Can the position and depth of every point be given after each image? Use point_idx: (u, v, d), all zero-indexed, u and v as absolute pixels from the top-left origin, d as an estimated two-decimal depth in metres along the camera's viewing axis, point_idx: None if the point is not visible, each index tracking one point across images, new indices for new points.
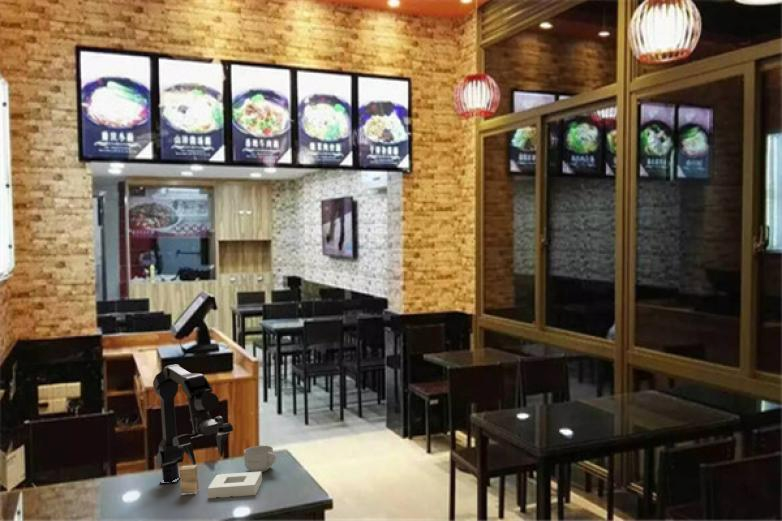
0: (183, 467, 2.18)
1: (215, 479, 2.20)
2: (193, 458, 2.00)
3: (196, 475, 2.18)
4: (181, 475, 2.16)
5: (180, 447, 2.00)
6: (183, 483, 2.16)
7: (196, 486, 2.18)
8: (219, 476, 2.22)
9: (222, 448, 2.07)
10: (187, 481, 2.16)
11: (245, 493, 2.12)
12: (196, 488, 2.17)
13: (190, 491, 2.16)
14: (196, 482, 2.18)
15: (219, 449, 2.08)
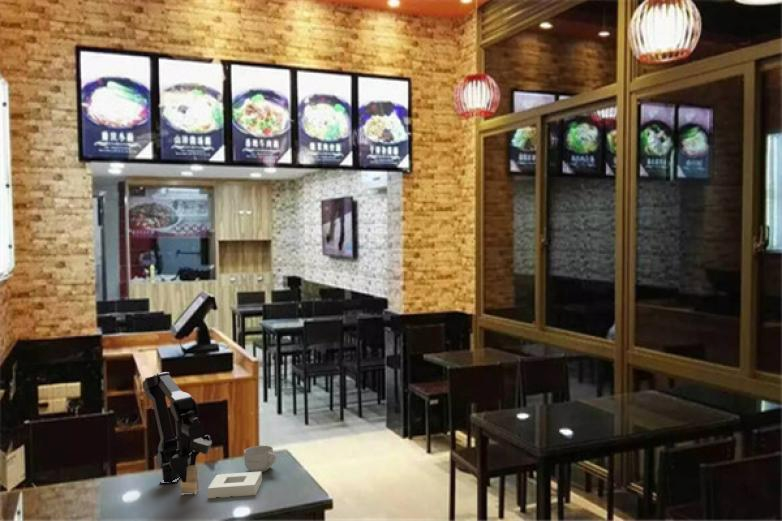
0: None
1: (215, 479, 2.20)
2: (186, 476, 2.13)
3: (196, 475, 2.18)
4: None
5: (179, 467, 2.10)
6: (183, 483, 2.16)
7: (196, 486, 2.18)
8: (219, 476, 2.22)
9: (195, 464, 2.23)
10: (187, 481, 2.16)
11: (245, 493, 2.12)
12: (196, 488, 2.17)
13: (190, 491, 2.16)
14: (196, 482, 2.18)
15: None
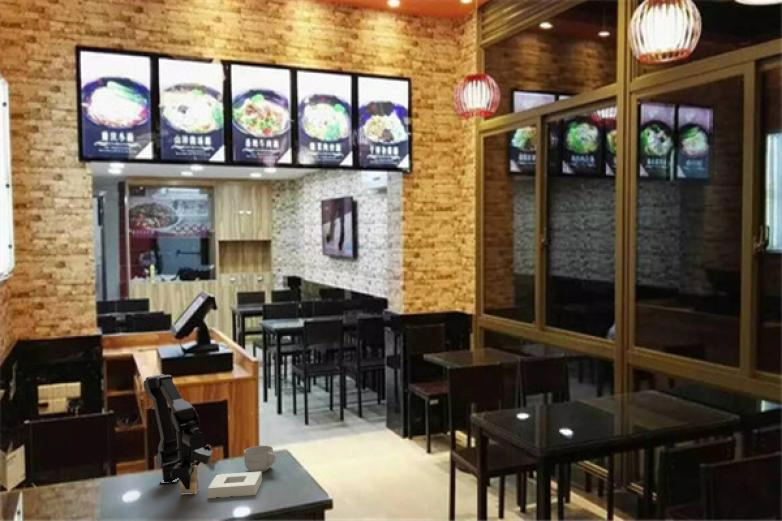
0: None
1: (215, 479, 2.20)
2: (189, 483, 2.16)
3: (196, 475, 2.18)
4: None
5: None
6: None
7: (196, 486, 2.18)
8: (219, 476, 2.22)
9: None
10: None
11: (245, 493, 2.12)
12: (196, 488, 2.17)
13: (190, 491, 2.16)
14: (196, 482, 2.18)
15: None
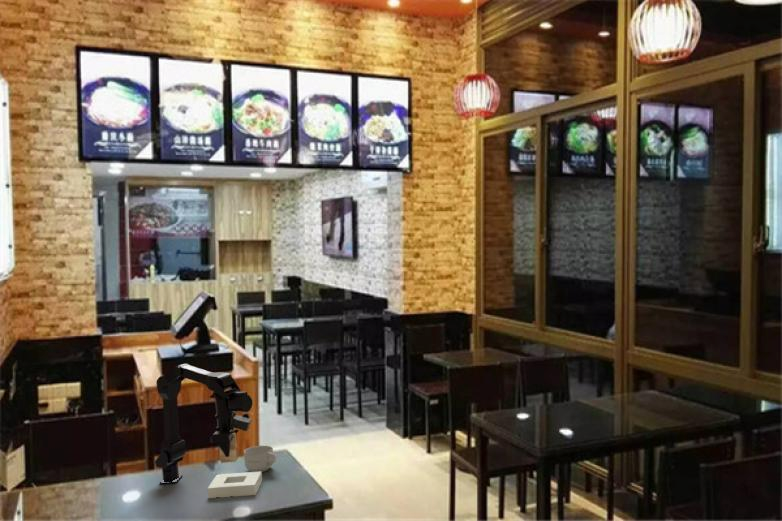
0: None
1: (215, 479, 2.20)
2: (229, 450, 2.15)
3: (235, 443, 2.18)
4: None
5: None
6: None
7: (235, 453, 2.17)
8: (219, 476, 2.22)
9: None
10: None
11: (245, 493, 2.12)
12: (235, 455, 2.17)
13: (229, 458, 2.16)
14: (235, 449, 2.17)
15: None
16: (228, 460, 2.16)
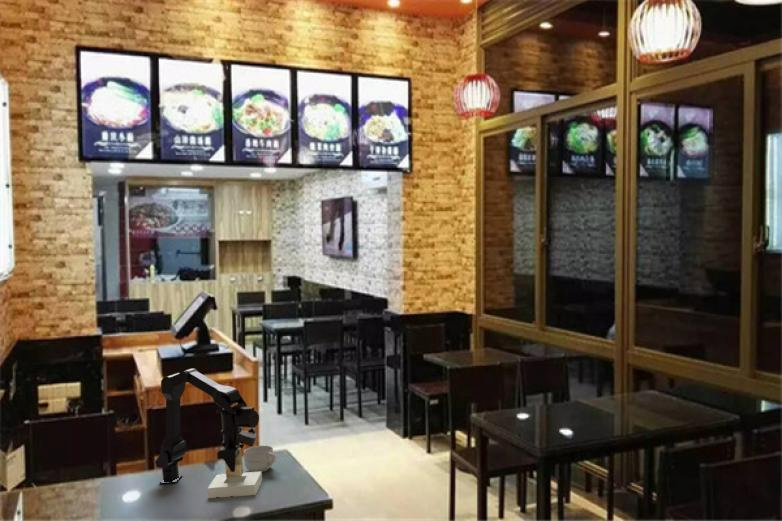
0: None
1: (215, 479, 2.20)
2: (234, 465, 2.16)
3: (240, 458, 2.18)
4: None
5: None
6: None
7: (241, 468, 2.17)
8: (219, 476, 2.22)
9: None
10: None
11: (245, 493, 2.12)
12: (241, 470, 2.17)
13: (235, 473, 2.16)
14: (241, 464, 2.18)
15: None
16: (233, 475, 2.16)
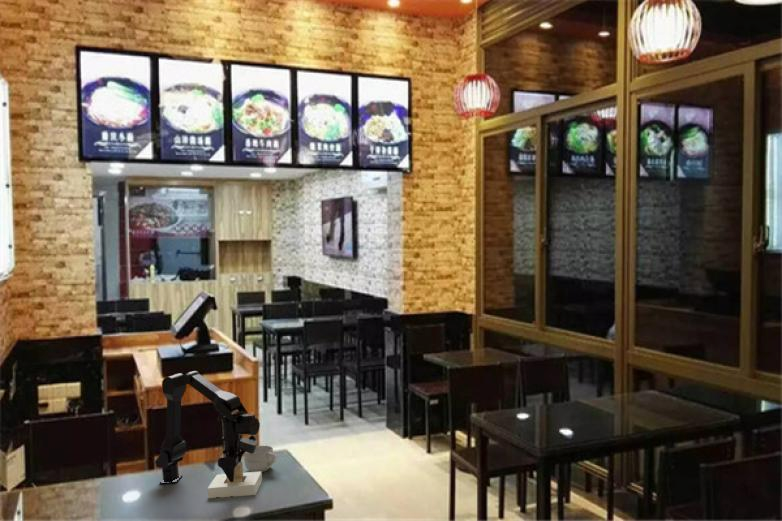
0: None
1: (215, 479, 2.20)
2: (233, 475, 2.13)
3: (242, 472, 2.19)
4: None
5: (227, 466, 2.10)
6: None
7: None
8: (219, 476, 2.22)
9: None
10: None
11: (245, 493, 2.12)
12: None
13: None
14: (242, 479, 2.18)
15: None
16: None
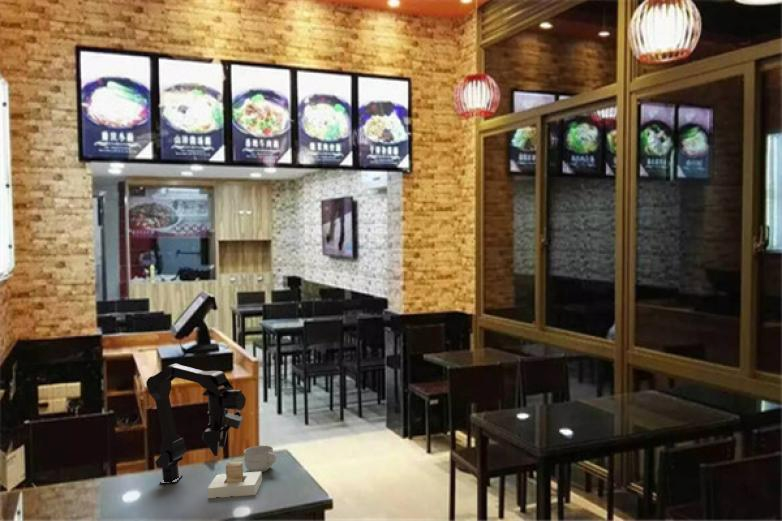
0: (229, 464, 2.18)
1: (215, 479, 2.20)
2: None
3: (242, 472, 2.19)
4: (227, 472, 2.16)
5: (211, 440, 2.14)
6: (230, 479, 2.16)
7: None
8: (219, 476, 2.22)
9: (225, 439, 2.27)
10: (233, 478, 2.16)
11: (245, 493, 2.12)
12: None
13: None
14: (242, 479, 2.18)
15: (221, 440, 2.27)
16: None
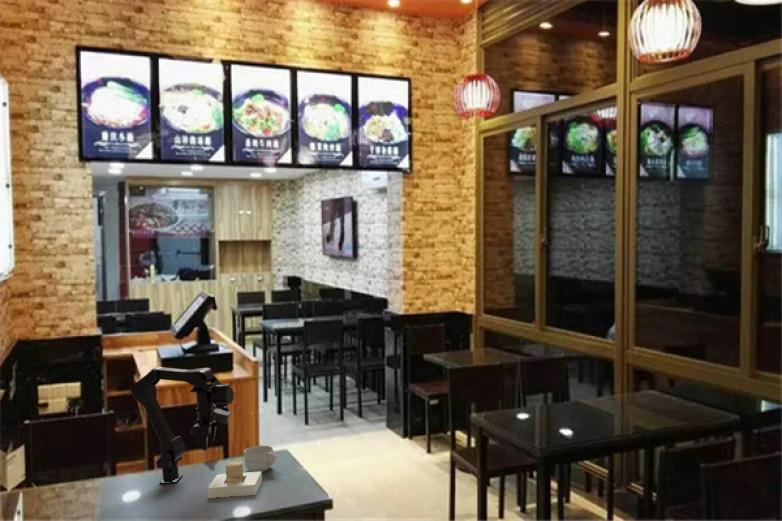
0: (229, 464, 2.18)
1: (215, 479, 2.20)
2: None
3: (242, 472, 2.19)
4: (227, 472, 2.16)
5: (200, 435, 2.18)
6: (230, 479, 2.16)
7: None
8: (219, 476, 2.22)
9: (214, 434, 2.31)
10: (233, 478, 2.16)
11: (245, 493, 2.12)
12: None
13: None
14: (242, 479, 2.18)
15: (210, 435, 2.31)
16: None
